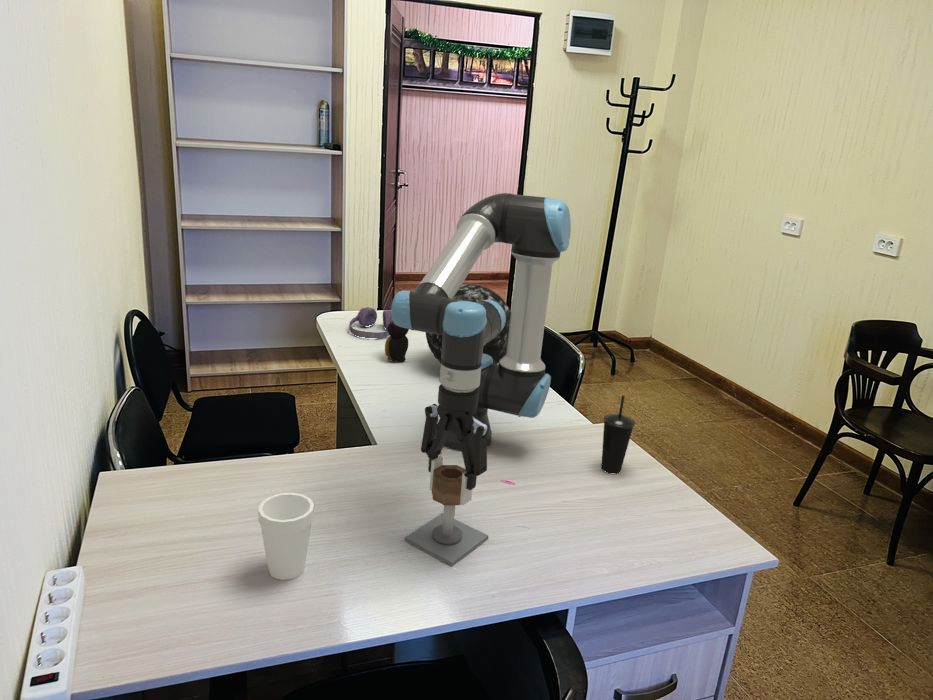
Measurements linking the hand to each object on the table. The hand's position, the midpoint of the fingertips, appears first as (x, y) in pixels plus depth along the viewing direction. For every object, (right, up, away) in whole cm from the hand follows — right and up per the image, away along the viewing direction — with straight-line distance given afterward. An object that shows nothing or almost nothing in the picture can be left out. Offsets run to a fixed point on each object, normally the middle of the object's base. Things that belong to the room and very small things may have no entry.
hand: (450, 494), depth 130 cm
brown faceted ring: (0, 0, 0) cm, 0 cm away
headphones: (-33, +35, +130) cm, 139 cm away
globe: (+3, +21, +96) cm, 99 cm away
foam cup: (-30, -12, -9) cm, 33 cm away
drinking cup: (+40, -2, +37) cm, 55 cm away
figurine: (-21, +25, +101) cm, 106 cm away
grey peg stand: (-1, -10, +4) cm, 11 cm away
